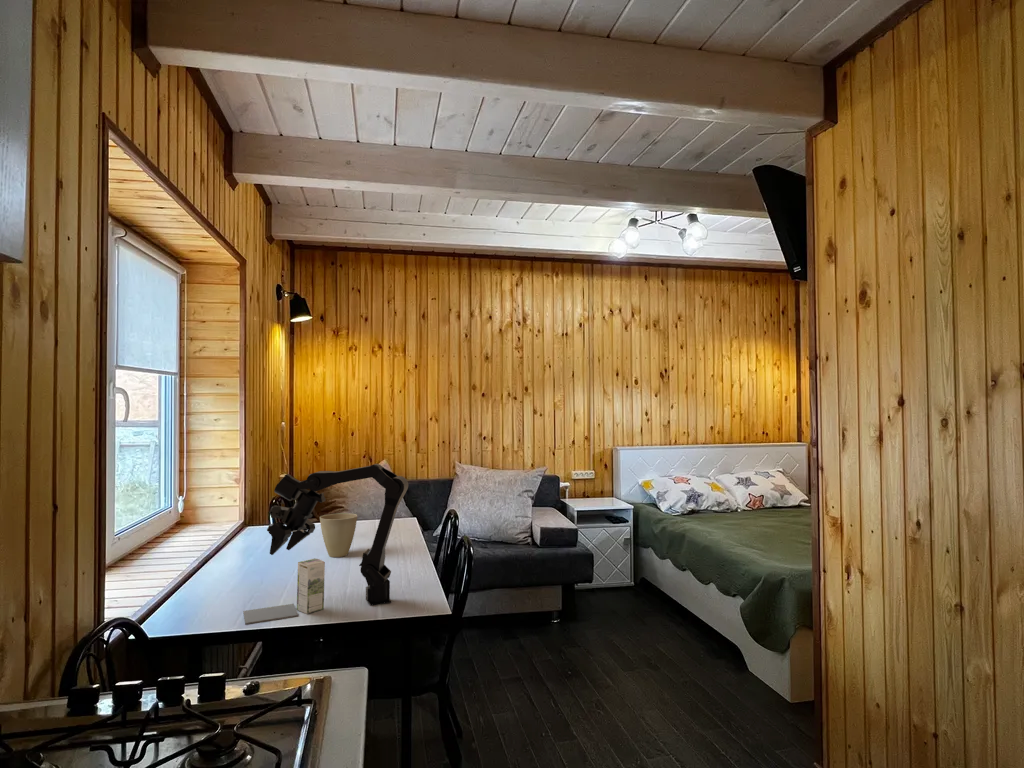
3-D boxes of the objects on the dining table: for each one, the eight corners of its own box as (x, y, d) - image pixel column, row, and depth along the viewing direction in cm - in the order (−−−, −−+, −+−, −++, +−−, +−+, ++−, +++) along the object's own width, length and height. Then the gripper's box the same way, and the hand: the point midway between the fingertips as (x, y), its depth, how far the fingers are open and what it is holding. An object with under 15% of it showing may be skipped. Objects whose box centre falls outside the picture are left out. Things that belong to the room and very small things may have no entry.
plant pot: (364, 554, 240) (364, 515, 240) (331, 561, 229) (331, 521, 230) (344, 549, 250) (345, 511, 251) (312, 555, 239) (312, 516, 240)
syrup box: (313, 605, 178) (314, 557, 179) (324, 609, 175) (325, 560, 175) (296, 610, 174) (297, 561, 175) (307, 614, 170) (307, 564, 171)
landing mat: (293, 604, 179) (293, 603, 179) (298, 616, 169) (298, 614, 169) (243, 612, 172) (243, 610, 172) (245, 624, 163) (245, 623, 163)
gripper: (299, 493, 195) (276, 534, 194) (266, 497, 176) (241, 543, 176) (325, 510, 192) (302, 552, 192) (295, 516, 174) (269, 562, 174)
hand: (279, 551), depth 183 cm, fingers open, 9 cm apart
